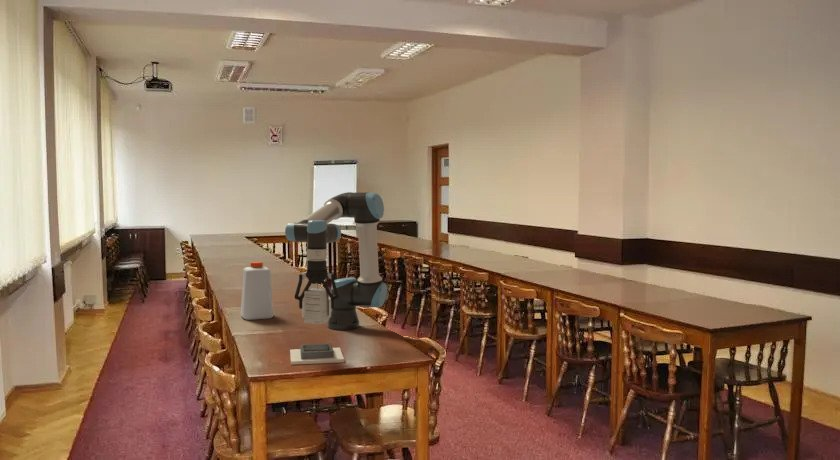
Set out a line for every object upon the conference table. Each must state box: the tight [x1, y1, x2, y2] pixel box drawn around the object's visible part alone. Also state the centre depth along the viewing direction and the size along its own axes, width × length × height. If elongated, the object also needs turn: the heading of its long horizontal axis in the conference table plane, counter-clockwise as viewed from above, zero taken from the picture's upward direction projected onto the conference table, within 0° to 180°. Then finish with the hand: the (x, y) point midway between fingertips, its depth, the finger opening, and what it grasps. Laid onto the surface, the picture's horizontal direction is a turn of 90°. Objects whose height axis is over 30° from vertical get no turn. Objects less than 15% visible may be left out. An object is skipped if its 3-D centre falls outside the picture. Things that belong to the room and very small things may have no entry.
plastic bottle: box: [240, 261, 274, 321], centre depth 329 cm, size 15×15×28 cm
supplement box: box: [303, 288, 330, 325], centre depth 254 cm, size 7×7×13 cm
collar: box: [299, 343, 334, 359], centre depth 255 cm, size 12×12×2 cm
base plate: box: [289, 347, 345, 366], centre depth 255 cm, size 18×20×1 cm
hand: (316, 316), depth 254 cm, fingers closed on supplement box, 10 cm apart
